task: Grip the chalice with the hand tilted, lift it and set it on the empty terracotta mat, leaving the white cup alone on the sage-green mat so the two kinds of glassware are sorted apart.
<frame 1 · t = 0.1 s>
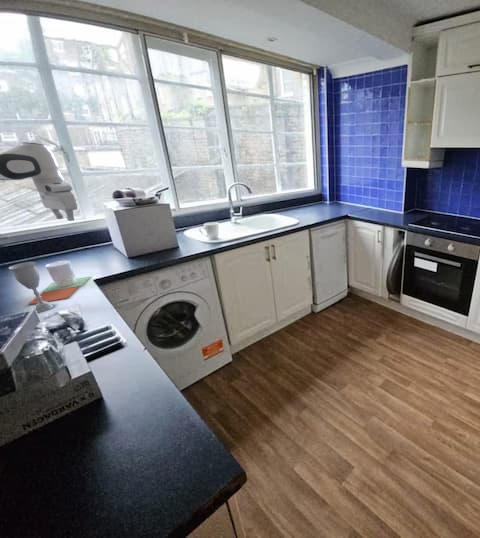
hand: (65, 219, 124), 29 cm above the table, tool pointing down, fingers open, 8 cm apart
white cup: (67, 284, 133), on the table, touching sage mat
chalice: (44, 308, 113), on the table
terracotta mat: (55, 295, 123), on the table
sage mat: (67, 284, 133), on the table
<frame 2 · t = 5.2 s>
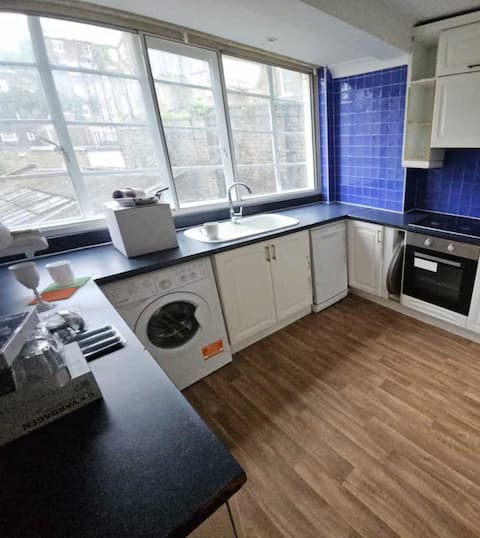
hand: (9, 259, 93), 24 cm above the table, tool tilted 45°, fingers open, 8 cm apart
nothing on the table moved.
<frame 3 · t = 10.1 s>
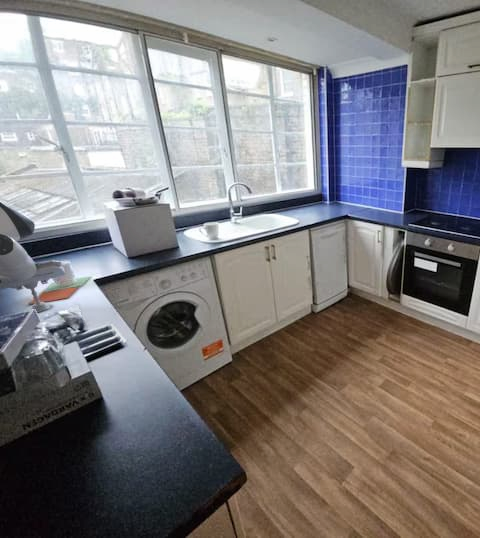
hand: (32, 285, 110), 10 cm above the table, tool tilted 45°, fingers closed on chalice, 5 cm apart
chalice: (41, 309, 113), on the table, touching gripper
everything else where it was.
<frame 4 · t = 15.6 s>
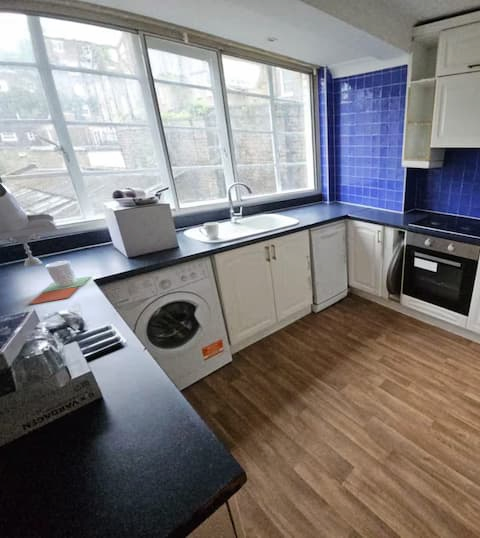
hand: (24, 239, 112), 25 cm above the table, tool tilted 45°, fingers closed on chalice, 5 cm apart
chalice: (33, 264, 115), point 15 cm above the table, touching gripper
everything else where it was.
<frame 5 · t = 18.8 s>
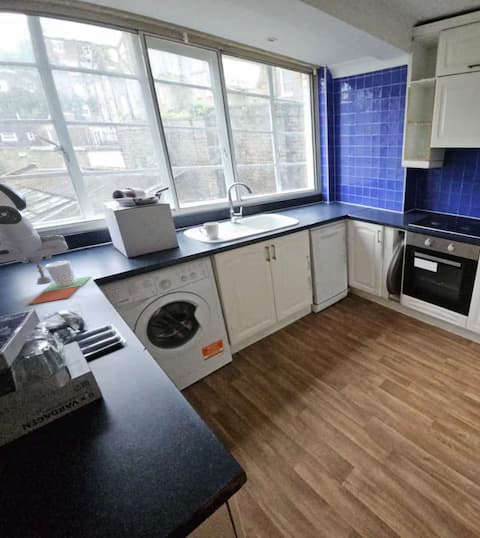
hand: (37, 259, 117), 16 cm above the table, tool tilted 45°, fingers closed on chalice, 5 cm apart
chalice: (45, 282, 120), point 7 cm above the table, touching gripper
everything else where it was.
when the fingers open (10 cm above the table, at t = 21.4 s): chalice stays where it is, resting on terracotta mat.
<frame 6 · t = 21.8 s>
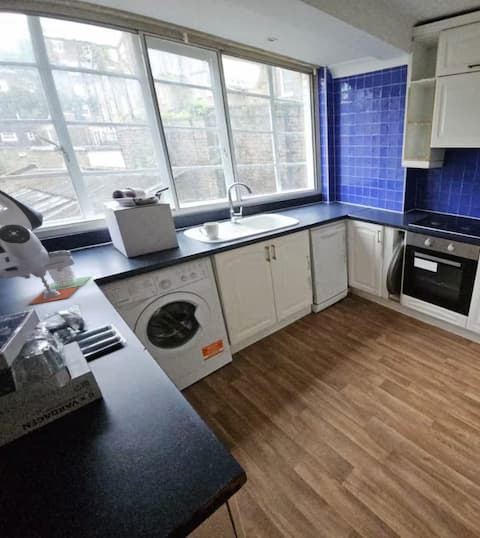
hand: (44, 273, 119), 10 cm above the table, tool tilted 45°, fingers open, 8 cm apart
chalice: (52, 295, 122), resting on terracotta mat
everything else where it was.
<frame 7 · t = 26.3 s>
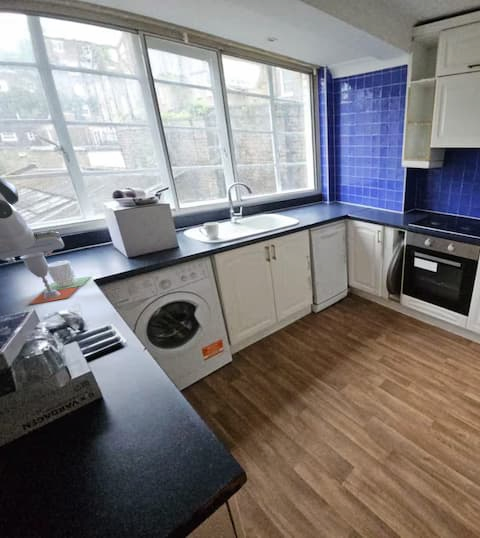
hand: (31, 257, 108), 20 cm above the table, tool tilted 45°, fingers open, 8 cm apart
nothing on the table moved.
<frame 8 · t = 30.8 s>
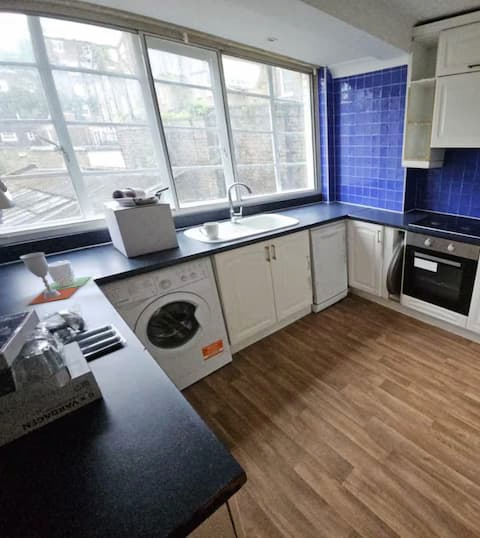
nothing on the table moved.
at the end: chalice inside the target area on the terracotta mat (0.8 cm from its centre), point 0.2 cm above the terracotta mat's base; chalice tilted 0°; white cup moved 0.2 cm from its start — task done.
